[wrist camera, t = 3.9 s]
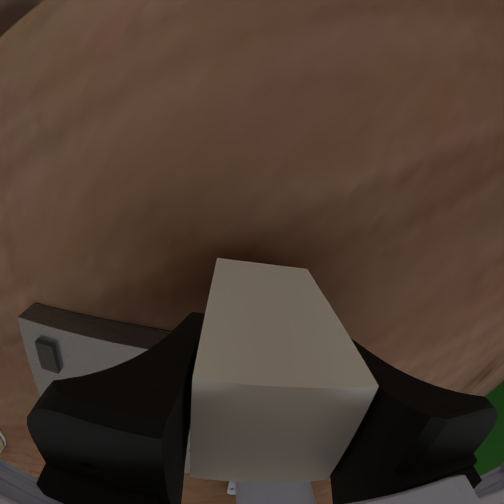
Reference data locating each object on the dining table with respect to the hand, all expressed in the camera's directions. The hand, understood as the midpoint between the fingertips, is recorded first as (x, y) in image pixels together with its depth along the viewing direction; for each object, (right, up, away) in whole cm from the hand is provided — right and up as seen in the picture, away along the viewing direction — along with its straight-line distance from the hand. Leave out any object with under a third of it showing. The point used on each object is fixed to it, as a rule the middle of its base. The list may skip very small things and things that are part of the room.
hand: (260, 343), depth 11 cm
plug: (0, +1, +3) cm, 3 cm away
